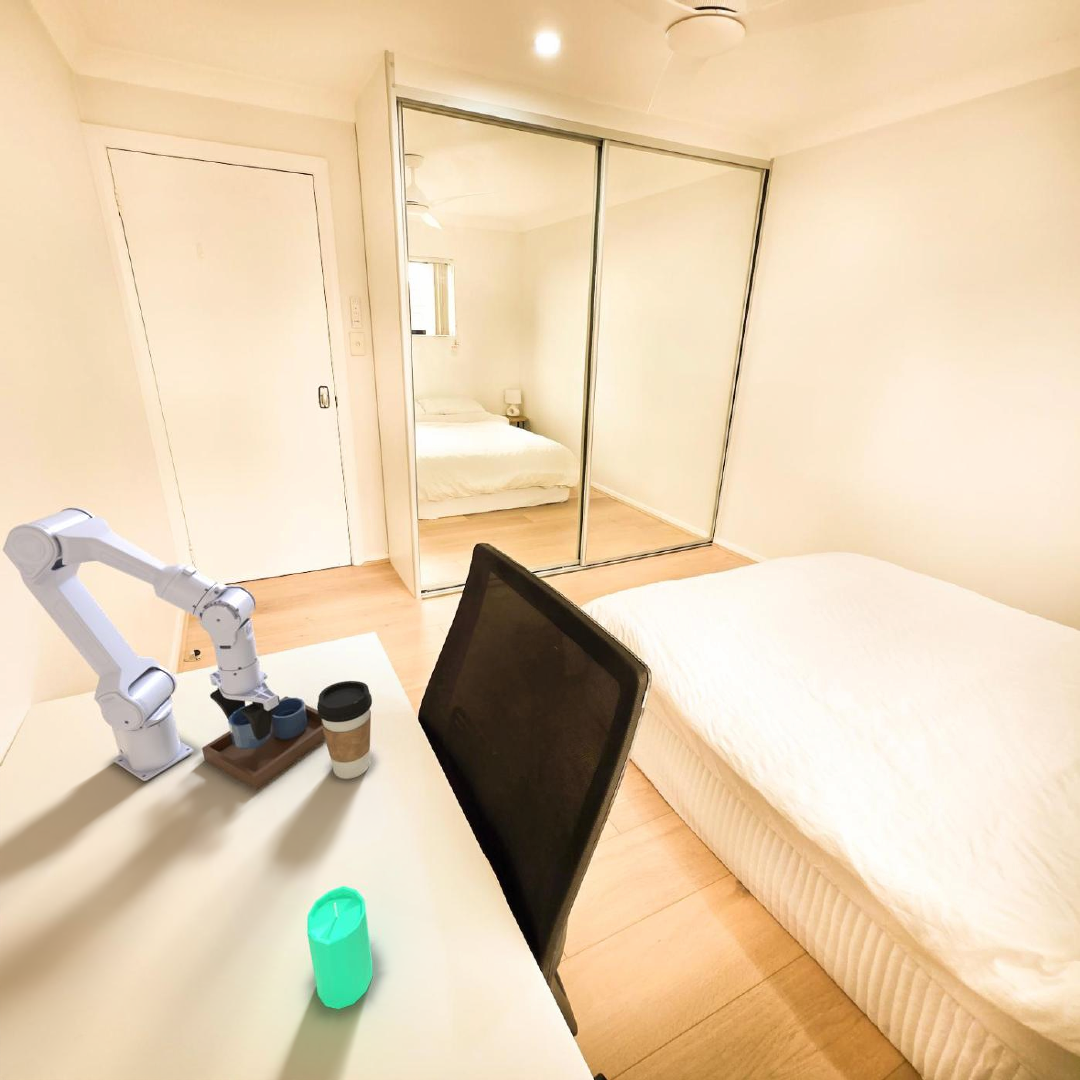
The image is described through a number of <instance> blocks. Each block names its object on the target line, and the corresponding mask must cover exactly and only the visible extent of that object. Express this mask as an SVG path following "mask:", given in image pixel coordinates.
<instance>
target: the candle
mask: <svg viewBox="0 0 1080 1080" xmlns="http://www.w3.org/2000/svg"><path fill="white" fill-rule="evenodd" d="M306 920H307V921H306V935H307V940H308V944H309V951H310V957H311V962H312V969H313V975H314V980H315V986H316V992H317V996H318V998H319V1000H320V1001H321V1003H323V1005H324V1006H325V1007H327V1008H330V1009H331V1008H332V1009H335V1010H340V1009H343V1008H346V1007H349V1006H352V1005H354V1004H355V1003H356V1002H357V1001H358V1000H359V999H361V997H363V995H364V994H366V993H367V991H368V989H369V986H370V984H371V981H372V979H373V977H374V976H373V975H374V974H373V959H372V950H371V942H370V941H371V940H370V933H369V926H368V917H367V907H366V900H365V898H364V897H363V896H362V894H361V893H360V892H359V891H358V890H357V889H355V888H351V887H350V886H349V887H348V886H345V885H341V886H339V887H337V888H334V889H331V890H329V891H327V892H326V893H324V894H323V895H322V896H320V897H319V898H318V899H317V900H315V901H314V903H313V905H312V907H311V908H310V910H309V911H308V914H307V919H306Z"/></svg>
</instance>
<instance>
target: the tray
mask: <svg viewBox="0 0 1080 1080" xmlns="http://www.w3.org/2000/svg"><path fill="white" fill-rule="evenodd" d="M286 698H290V697H289V696H287V695H286V696H283V698H281V699H280V700H282V699H286ZM305 709H306V716H307V727H306V729H305V730H304V731H303V732H302V733H301V734H300V735H298V736H297V737H294V738H291V739H280V738H277V737H275V736H274V735H273V733H272V728H271V735H270V737H269V738H268V739H267V741H266V742H265V743H263V744H262V745H260V746H258V747H256V748H252V749H240V748H237V747H235V746H234V744H233V742H232V737H231V732H230V730H229V731H227V732H225V733H224V734H222V735H220V736H219V737H217V738H215V739H214V740H212V741H211V742H209V743H207V744H206V745H204V746H203V747H202V748H201V750H202V755H203V759H204V761H206V762H207V763H209V764H211V765H213V766H214V767H216V768H218V769H219V770H220V771H222V772H224V773H226V774H227V775H230V776H231V777H233V778H234V779H236V780H238V781H240V782H242V783H243V784H245V785H246V786H248V787H250V788H252V789H253V790H255V791H258V790H259V789H260V788H262V787H263V786H264V785H266V784H267V783H268V782H269V781H271V780H272V779H273V778H275V777H276V776H277V775H279V774H281V772H283V771H284V770H286V769H287V768H288V767H290V766H291V765H293V764H294V763H295V762H297V761H298V760H299V759H300V758H302V757H303V756H305V755H306V754H307V753H309V752H310V751H311V750H313V749H314V748H315V747H316V746H318V745H319V744H321V743H322V742H323V741H324V740H326V739H325V735H324V731H323V727H322V723H321V721H322V718H321V717H320V716H319V715H318V709H317V708H314V707H311V706H309V705H307V704H305Z"/></svg>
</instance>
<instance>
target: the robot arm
mask: <svg viewBox="0 0 1080 1080" xmlns="http://www.w3.org/2000/svg"><path fill="white" fill-rule="evenodd" d="M2 551H3V553H4V554H5V555H6V556H7V558H8V559H9V561H10V562H11V563H12V564H13V566H15V568H16V569H17V570H18V572H19V574H20V577H21V580H22V583H23V584H24V586H26V588H27V589H28V590H29V592H30V593H31V594H32V595H33V596H34V598H35V599H36V600H37V602H38V603H39V604H40V606H41V608H43V609H44V611H45V612H46V613H47V614H48V615H49V616H50V618H51V620H53V622H54V623H55V624H56V625H57V627H58V628H59V629H60V630H61V631H62V633H63V634H64V635H65V637H66V638H67V639H68V641H70V643H71V644H72V646H74V648H75V649H76V650H77V651H78V653H79V654H80V655H81V657H82V658H83V659H84V660H85V662H86V663H87V665H89V666H90V668H91V669H92V670H93V672H94V673H95V674H96V675H97V676H98V679H99V680H98V682H97V686H96V689H95V693H94V701H95V702H96V703H97V704H98V706H99V707H100V711H101V716H102V718H103V720H104V721H105V722H106V724H108V726H110V727H111V729H112V733H113V736H114V741H115V743H116V747H117V750H118V754H119V755H118V756H116V757H115V758H113V762H114V763H116V764H117V765H118V766H120V767H122V768H123V769H124V770H126V771H127V772H129V773H130V774H132V775H133V776H135V777H136V778H137V779H139V780H141V781H143V782H146V781H149V780H151V779H152V778H154V777H155V776H157V775H159V774H161V772H164V771H165V770H168V768H171V766H173V765H175V764H177V763H178V762H179V761H182V760H183V759H185V758H186V757H188V756H190V755H191V754H193V753H194V748H192V747H191V746H189V745H187V744H185V743H183V742H182V741H181V739H180V736H179V732H178V727H177V723H176V720H175V719H176V718H175V715H174V711H173V706H172V702H173V698H172V695H173V694H174V693H175V692H176V690H177V687H178V682H177V679H176V677H175V675H174V674H173V673H172V672H171V671H169V669H166V668H165V667H163V666H162V665H160V664H159V662H158V661H157V660H156V658H155V657H149V656H138V655H137V654H136V652H135V650H134V649H133V648H132V647H131V645H130V644H129V642H128V641H127V640H126V639H125V637H123V635H122V634H121V632H120V631H119V630H118V628H117V627H116V626H115V624H114V623H113V621H112V620H111V619H110V618H109V616H108V615H107V614H106V613H105V612H104V610H103V609H102V607H101V606H100V605H99V604H98V601H96V599H95V598H94V597H93V595H92V594H91V592H90V591H89V590H88V589H87V587H86V586H85V585H84V584H83V582H82V581H81V580H80V578H79V577H78V571H79V568H80V566H81V564H83V563H88V562H89V563H90V562H99V563H101V564H104V565H106V566H108V567H111V568H113V569H116V570H117V571H120V572H121V573H124V574H126V575H129V576H132V577H133V578H136V579H137V580H139V581H140V580H141V581H142V582H144V583H147V584H150V585H151V586H152V587H153V590H154V594H155V595H156V597H157V598H159V599H161V600H163V601H165V602H167V603H169V604H171V605H173V606H174V607H177V608H178V609H181V610H182V611H185V612H186V613H188V614H191V615H192V616H194V617H196V618H198V622H199V625H200V627H201V628H202V629H203V630H204V631H205V632H206V633H207V634H208V635H209V637H210V641H211V643H212V644H213V648H214V649H213V650H214V654H215V660H216V664H217V669H218V670H216V671H214V672H212V673H209V677H210V678H209V679H210V684H211V685H212V686H217V689H216V690H214V691H212V692H211V693H210V694H209V698H210V699H212V701H214V702H215V704H217V705H218V707H219V708H220V709H221V711H222V712H223V714H224V716H225V717H226V719H227V721H228V720H229V716H230V715H231V714H232V713H233V712H234V711H236V710H237V709H239V708H241V707H244V706H247V705H248V706H247V707H245V708H243V709H241V710H240V711H241V713H242V714H243V715H245V717H246V718H247V719H248V721H249V723H250V725H251V727H252V730H253V733H254V736H255V738H256V739H257V740H261V739H263V738H264V737H266V736H267V735H269V734H270V729H271V722H272V717H273V714H274V711H275V709H276V707H277V705H279V701H280V700H281V699H280V696H279V695H278V694H277V693H276V692H274V691H272V689H271V688H270V686H269V685H268V684H267V683H268V682H266V681H265V680H267V679H268V677H269V676H268V673H266V672H264V671H261V667H260V661H259V654H258V648H257V645H256V644H257V643H256V638H255V631H254V626H253V621H252V620H253V619H252V617H250V616H252V614H253V613H254V611H255V610H256V606H257V604H256V603H257V602H256V598H255V596H254V595H253V594H252V593H251V592H250V590H248V589H246V588H245V587H244V586H242V585H238V584H232V585H231V584H230V585H228V584H225V583H219V582H217V581H215V580H213V579H211V578H209V577H208V576H206V575H203V574H202V573H200V572H198V569H197V568H195V567H194V566H192V565H185V564H183V563H181V564H174V565H168V564H167V563H165V562H163V561H161V560H160V559H158V558H157V557H155V556H153V555H152V554H150V553H149V552H147V551H145V550H143V549H142V548H140V547H139V546H137V545H135V544H134V543H132V542H130V541H129V540H127V539H126V538H124V537H123V536H121V535H119V534H118V533H116V532H114V531H113V530H112V529H111V528H110V526H109V524H108V522H107V521H106V519H104V518H102V517H99V516H96V515H94V514H93V513H92V512H90V511H89V510H87V509H85V508H82V507H77V506H71V507H70V506H69V507H66V508H63V509H62V510H61V511H59V512H55V513H52V514H50V515H47V516H45V517H41V518H39V519H36V520H34V521H30V522H28V523H23V524H20V525H16V526H14V527H13V528H11V530H10V531H9V532H8V534H7V536H6V540H5V541H4V544H3V547H2ZM246 702H251V703H250V704H247V705H246Z"/></svg>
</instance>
